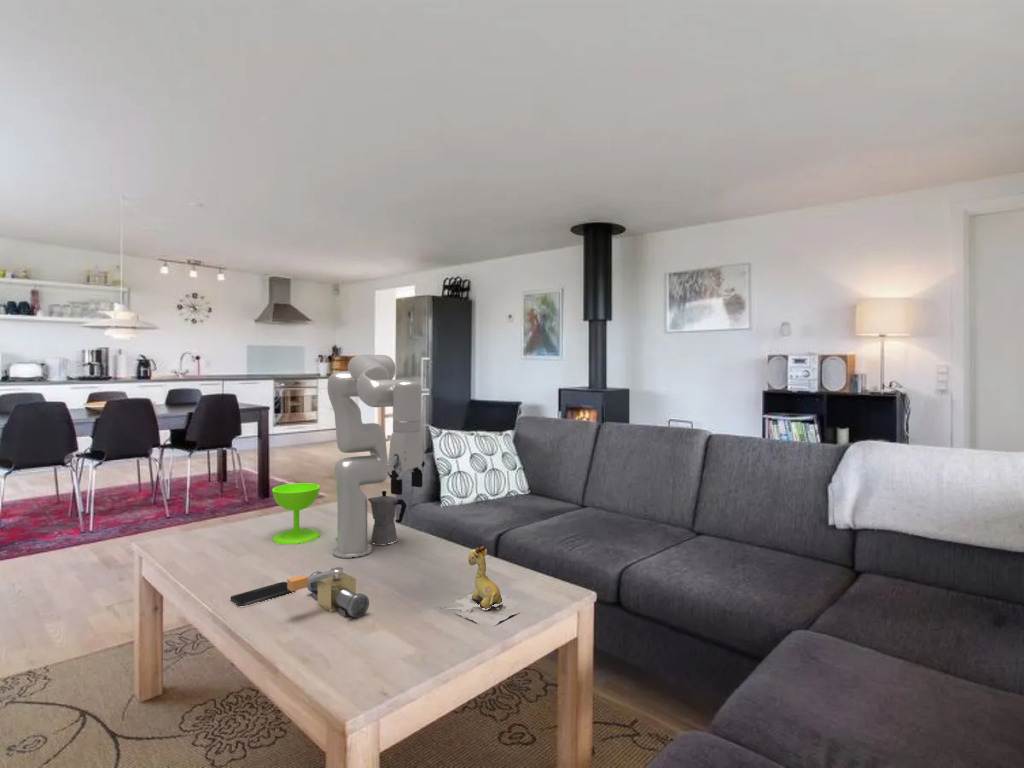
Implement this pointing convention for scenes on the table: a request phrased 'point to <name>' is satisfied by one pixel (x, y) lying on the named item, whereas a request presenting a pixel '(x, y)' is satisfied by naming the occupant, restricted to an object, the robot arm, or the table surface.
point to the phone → (261, 594)
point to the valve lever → (311, 579)
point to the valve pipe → (339, 595)
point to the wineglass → (296, 510)
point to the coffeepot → (385, 518)
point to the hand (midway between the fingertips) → (407, 490)
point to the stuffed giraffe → (483, 581)
